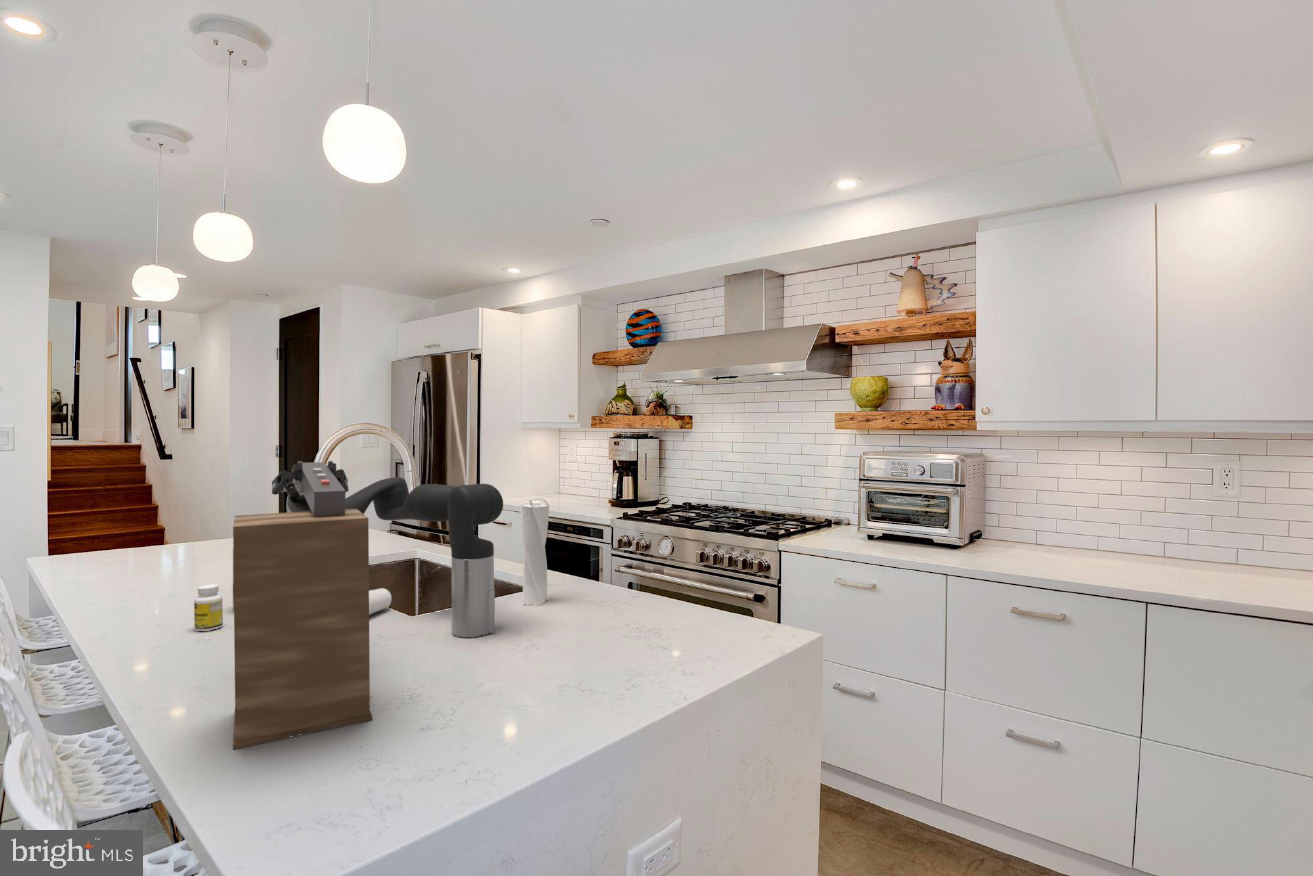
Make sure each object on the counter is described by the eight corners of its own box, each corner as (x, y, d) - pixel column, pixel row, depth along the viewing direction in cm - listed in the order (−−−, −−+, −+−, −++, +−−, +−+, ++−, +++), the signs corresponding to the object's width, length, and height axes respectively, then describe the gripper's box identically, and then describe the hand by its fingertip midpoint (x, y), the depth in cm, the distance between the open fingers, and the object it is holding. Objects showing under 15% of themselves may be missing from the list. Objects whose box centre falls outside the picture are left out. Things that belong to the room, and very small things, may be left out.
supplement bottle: (188, 630, 152) (188, 587, 152) (212, 624, 157) (212, 582, 157) (204, 633, 150) (204, 590, 150) (228, 626, 155) (227, 584, 155)
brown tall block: (234, 712, 109) (232, 515, 108) (359, 689, 119) (357, 508, 118) (233, 749, 96) (230, 527, 96) (372, 720, 106) (370, 518, 106)
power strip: (298, 482, 132) (298, 460, 131) (323, 482, 134) (324, 459, 134) (314, 516, 106) (314, 488, 106) (345, 515, 109) (345, 487, 108)
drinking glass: (384, 617, 170) (343, 631, 155) (367, 599, 172) (324, 611, 157) (399, 597, 169) (359, 609, 155) (382, 579, 171) (340, 589, 156)
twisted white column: (546, 607, 172) (546, 498, 172) (517, 606, 172) (517, 498, 172) (551, 599, 180) (551, 494, 180) (523, 598, 180) (523, 494, 180)
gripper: (346, 516, 141) (358, 482, 128) (268, 520, 133) (272, 485, 120) (344, 483, 144) (355, 447, 131) (267, 485, 136) (271, 447, 123)
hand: (315, 465), depth 126 cm, fingers closed on power strip, 4 cm apart
